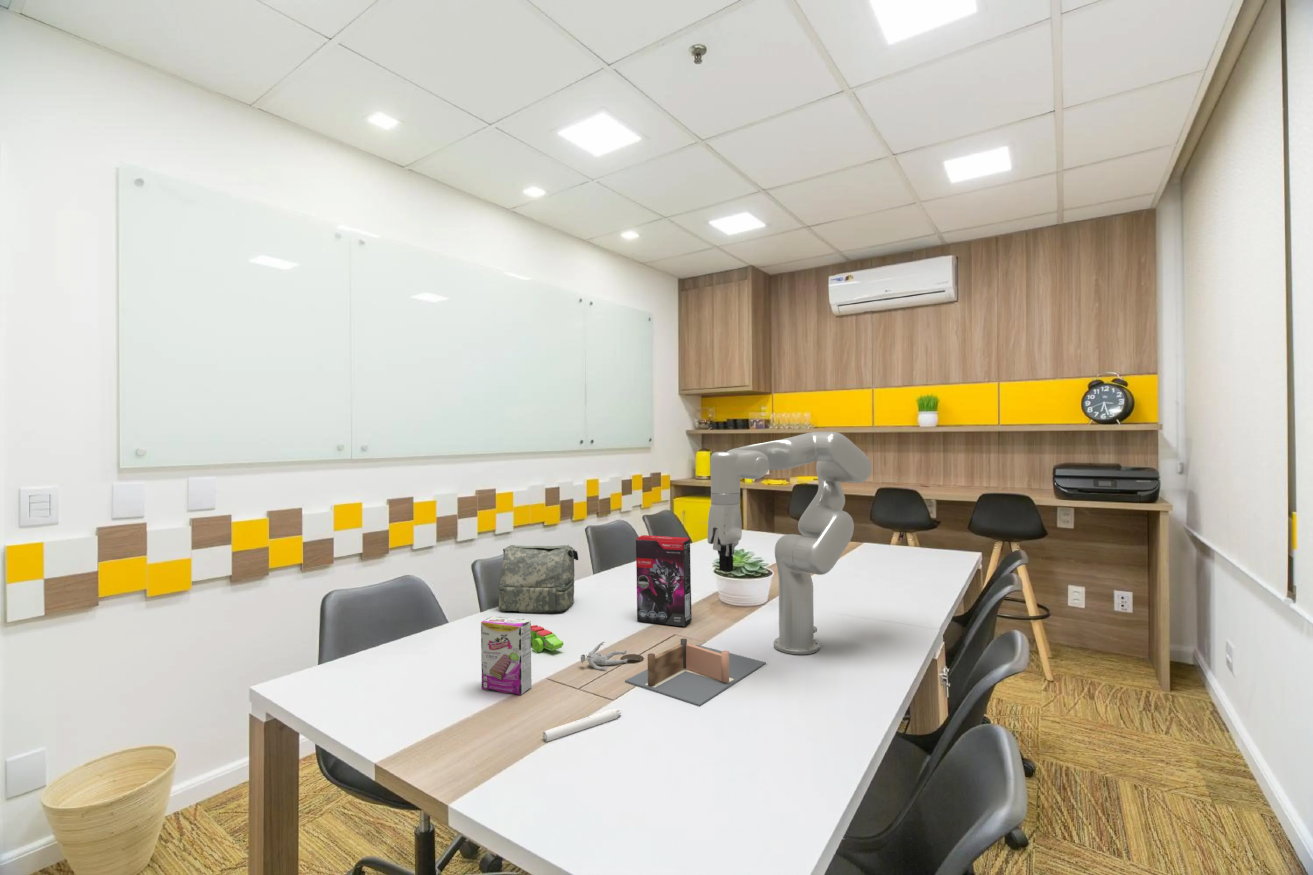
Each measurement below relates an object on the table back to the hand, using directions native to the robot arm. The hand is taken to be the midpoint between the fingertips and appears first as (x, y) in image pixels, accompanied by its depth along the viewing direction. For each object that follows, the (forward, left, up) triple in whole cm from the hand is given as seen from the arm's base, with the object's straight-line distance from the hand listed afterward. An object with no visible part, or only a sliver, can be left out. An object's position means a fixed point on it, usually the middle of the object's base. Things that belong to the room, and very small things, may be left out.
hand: (726, 570), depth 156 cm
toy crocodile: (+19, -52, -26) cm, 61 cm away
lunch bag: (-8, -82, -25) cm, 86 cm away
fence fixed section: (+15, -8, -25) cm, 30 cm away
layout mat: (+8, -4, -25) cm, 27 cm away
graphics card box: (-20, -36, -25) cm, 48 cm away
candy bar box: (+43, -35, -25) cm, 61 cm away
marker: (+45, -7, -26) cm, 52 cm away
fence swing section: (+9, 0, -24) cm, 26 cm away
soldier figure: (+18, -26, -25) cm, 41 cm away
